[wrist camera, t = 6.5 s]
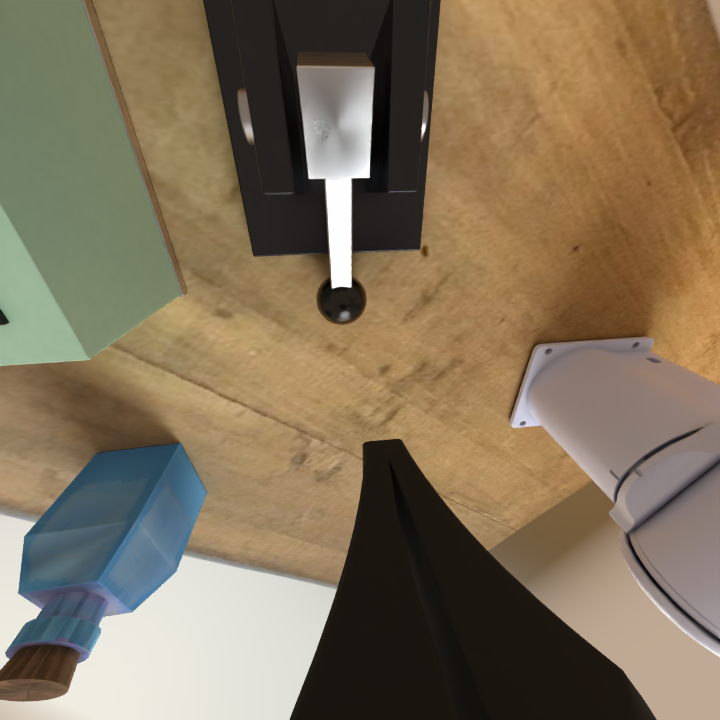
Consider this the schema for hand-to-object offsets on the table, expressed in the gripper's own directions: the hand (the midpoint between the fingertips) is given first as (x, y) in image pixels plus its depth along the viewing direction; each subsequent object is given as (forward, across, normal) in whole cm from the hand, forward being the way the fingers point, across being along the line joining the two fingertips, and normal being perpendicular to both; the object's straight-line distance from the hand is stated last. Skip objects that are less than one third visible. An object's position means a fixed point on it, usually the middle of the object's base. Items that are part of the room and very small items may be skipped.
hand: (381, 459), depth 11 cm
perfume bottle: (+10, +17, +12) cm, 23 cm away
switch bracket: (+10, +1, -11) cm, 15 cm away
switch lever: (+8, +1, -8) cm, 11 cm away
